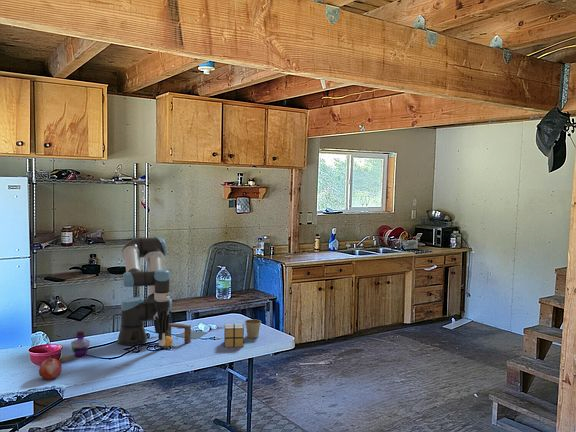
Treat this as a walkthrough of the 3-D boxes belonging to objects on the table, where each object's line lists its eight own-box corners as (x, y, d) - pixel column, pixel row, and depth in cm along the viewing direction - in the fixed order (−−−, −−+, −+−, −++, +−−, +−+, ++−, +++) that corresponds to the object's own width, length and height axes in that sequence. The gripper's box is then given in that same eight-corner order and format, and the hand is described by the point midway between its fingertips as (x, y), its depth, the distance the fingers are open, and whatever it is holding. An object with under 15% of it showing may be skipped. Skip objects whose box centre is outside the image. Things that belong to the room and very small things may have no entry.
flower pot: (260, 339, 281) (260, 323, 281) (243, 338, 281) (243, 323, 281) (261, 334, 290) (261, 319, 290) (245, 334, 290) (245, 319, 290)
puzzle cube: (224, 341, 275) (224, 323, 275) (243, 341, 277) (243, 323, 276) (224, 347, 266) (224, 328, 265) (243, 347, 267) (243, 328, 266)
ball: (161, 334, 265) (167, 336, 270) (158, 344, 263) (164, 346, 268) (170, 336, 263) (176, 338, 267) (166, 346, 261) (172, 348, 265)
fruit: (49, 373, 226) (48, 350, 225) (66, 375, 223) (66, 353, 222) (33, 380, 217) (33, 357, 216) (51, 383, 214) (51, 359, 214)
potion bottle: (67, 356, 247) (66, 332, 246) (80, 351, 255) (80, 328, 254) (80, 359, 244) (80, 334, 243) (93, 354, 252) (93, 330, 251)
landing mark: (175, 336, 284) (175, 335, 284) (188, 330, 296) (188, 330, 296) (195, 339, 279) (195, 338, 279) (207, 333, 291) (207, 332, 291)
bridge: (187, 343, 271) (187, 326, 270) (164, 340, 276) (164, 323, 275) (190, 342, 273) (190, 325, 273) (168, 339, 279) (168, 322, 278)
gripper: (159, 303, 253) (159, 350, 254) (175, 298, 265) (175, 342, 266) (147, 302, 256) (147, 348, 257) (163, 297, 268) (163, 341, 269)
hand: (161, 345), depth 262 cm, fingers closed
